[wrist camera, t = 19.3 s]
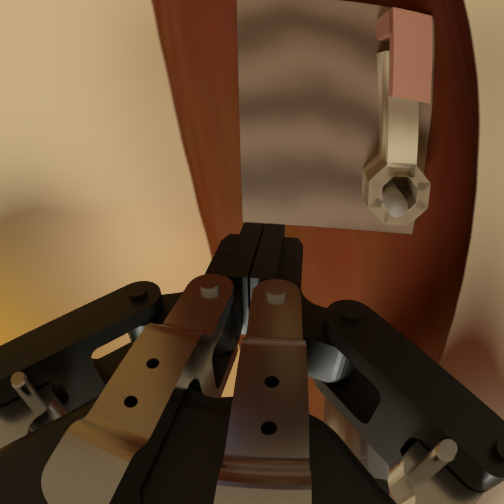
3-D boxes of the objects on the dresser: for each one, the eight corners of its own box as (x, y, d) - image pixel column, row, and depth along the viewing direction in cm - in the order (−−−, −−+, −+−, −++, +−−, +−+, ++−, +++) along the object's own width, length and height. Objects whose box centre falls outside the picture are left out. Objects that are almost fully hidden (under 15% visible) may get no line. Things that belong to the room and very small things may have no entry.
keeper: (407, 98, 23) (430, 103, 18) (375, 93, 23) (392, 97, 19) (408, 25, 19) (431, 15, 15) (376, 19, 20) (392, 7, 15)
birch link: (414, 209, 28) (425, 225, 25) (360, 208, 29) (366, 224, 26) (420, 58, 21) (434, 56, 18) (359, 52, 22) (366, 49, 19)
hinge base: (409, 229, 30) (427, 263, 25) (244, 217, 33) (230, 249, 28) (429, 18, 19) (458, 8, 14) (239, 1, 22) (221, -17, 16)
